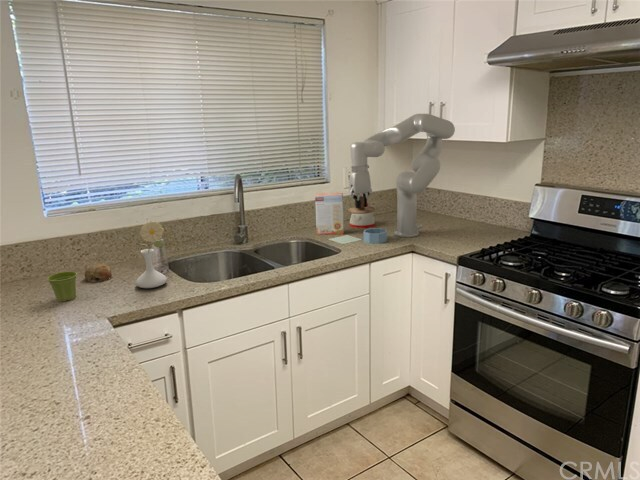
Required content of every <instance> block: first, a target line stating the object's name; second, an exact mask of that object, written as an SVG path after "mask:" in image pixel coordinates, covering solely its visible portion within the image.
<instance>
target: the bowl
mask: <svg viewBox="0 0 640 480" xmlns="http://www.w3.org/2000/svg"><path fill="white" fill-rule="evenodd" d="M363 242H364V243H368V244H384V243H387V242H388V230H387V229H386V228H385V229H384V228H380V227H379V228H378V227H377V228H375V227H371V228H364V230H363Z"/></svg>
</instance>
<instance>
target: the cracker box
mask: <svg viewBox="0 0 640 480" xmlns="http://www.w3.org/2000/svg"><path fill="white" fill-rule="evenodd" d="M314 199H315V200H314V203H315V224H316V225H315V226H316V230H315V231H316V235H318V236H319V235H344V233H345V221H344V220H345V219H344V218H345V217H344V216H345V215H344V193H343V192H342V193H341V192H337V193H335V192H332V193H328V192H327V193H325V192H324V193H316V194H315V196H314Z"/></svg>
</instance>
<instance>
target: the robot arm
mask: <svg viewBox="0 0 640 480" xmlns="http://www.w3.org/2000/svg"><path fill="white" fill-rule="evenodd" d="M455 131H456V127H455V125H454V123H453V122H452V121H450V120H447V119H444V118H442V117H439V116H436V115H434V114H431V113H416V114H412V116H410V117H407V118H406V119H405V120H402V121H400V122H399V123H398V124H396V125H394V126H391V127H389V128H387V129H385V130H383V131H380V132H379V131H378V132H377V133H375V134H373V135H372V136H370V137H368V138H366V139H365V140H364V141H360V142H359V141H358V142H353V143H351V144H350V159H351V160H350V161H351V162H350V165H351V172H350V173H349V178H348V179H349V181H348V182H349V183H348V187H349V188H348V190H349V191H348V192H349V194H348V196H350V198H353V200H354V203H355V204H354V205H355V206H354V207H356V208H359V209H360V208H361V203H360V200H359V196H364V205H365V207H367V204H368V199H369V196H370V194H372V193H373V190H372V188H371V187H372V184H371V176H370V171H369V168H370V166H369V165H368V158H378V157H381V156H382V155H383V154H384V153H385V151H386V148H385V147H387V146H391V145H397V144H402V143H403V142H405V141H407V140H409V139H410V138H412V137H413V136H415V135H417V134H420V133H426V143H425V145H424V146H423V147H422V149H421V150H420V151H419V153H418V154H417V156H415V157H414V158H413V160H412V161H411V163H410V164H411V165H410V167H411V170H412V171H408V170H407V171H402V172H400V173H399V174H398V175H397V177H396V179H395V186H396V187H395V188H396V196H397V197H396V198H397V202H396V203H397V204H396V205H397V207H396V208H397V210H396V213H397V214H396V215H397V216H396V230H394V231H393V235H394V236H396V237H400V238H414V237H417V236H419V235H420V232H419V229H423V224H417V211H418V210H417V208H418V199H417V195H418V194H421V193H423V192H424V191H425V190H426V189H427V188H428V186H429V185H430V184H431V183H432V182H433V180H434V179H435V178H436V177H437V175H438V174H439V172H440V169H441V162H440V159H439V158H438V157H439V156H440V154H442V151H443V140H448V139H450V138H452V137H453V136H454V134H455ZM360 194H361V195H360Z"/></svg>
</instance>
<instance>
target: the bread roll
mask: <svg viewBox="0 0 640 480" xmlns="http://www.w3.org/2000/svg"><path fill="white" fill-rule="evenodd" d="M112 275H113V274H112V269H111V267H110V266H108V265H107V264H104V263H101V262H96V263H95V264H92V265H90V266H89V267H87V268H86V269H85V271H84V278H85V280H86V281H88V282H89V283H97V281H100V282H104V281H103V280H105V281H108V280H110V279H112ZM109 278H110V279H109ZM107 279H108V280H107Z"/></svg>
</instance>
